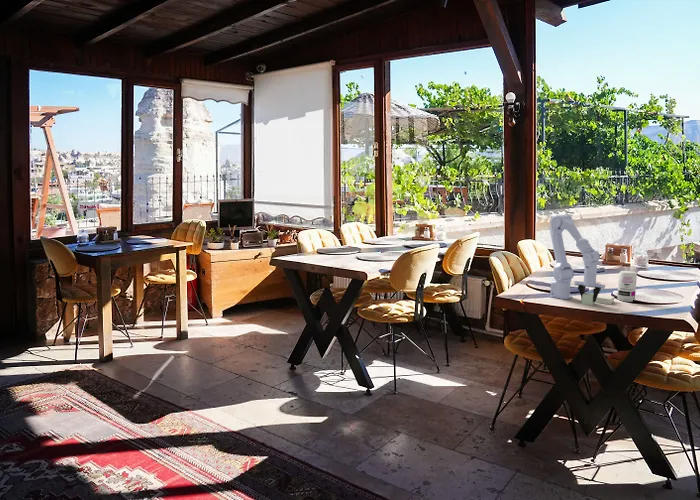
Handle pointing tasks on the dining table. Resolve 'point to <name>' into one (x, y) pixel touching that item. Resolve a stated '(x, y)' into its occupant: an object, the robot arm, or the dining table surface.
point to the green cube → (588, 299)
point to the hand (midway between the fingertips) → (588, 300)
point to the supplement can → (627, 286)
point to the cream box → (604, 299)
